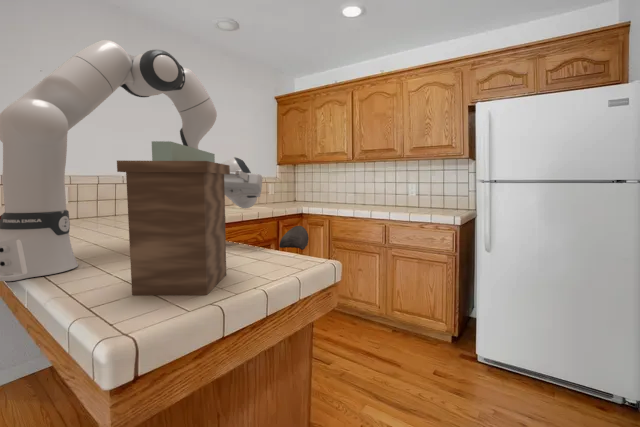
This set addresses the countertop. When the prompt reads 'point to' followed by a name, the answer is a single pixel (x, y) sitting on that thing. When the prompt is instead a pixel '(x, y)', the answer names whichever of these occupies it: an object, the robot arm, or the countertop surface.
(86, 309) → the countertop surface
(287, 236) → the stone
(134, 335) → the countertop surface
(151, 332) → the countertop surface
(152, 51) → the robot arm
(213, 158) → the bar
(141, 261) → the pedestal
